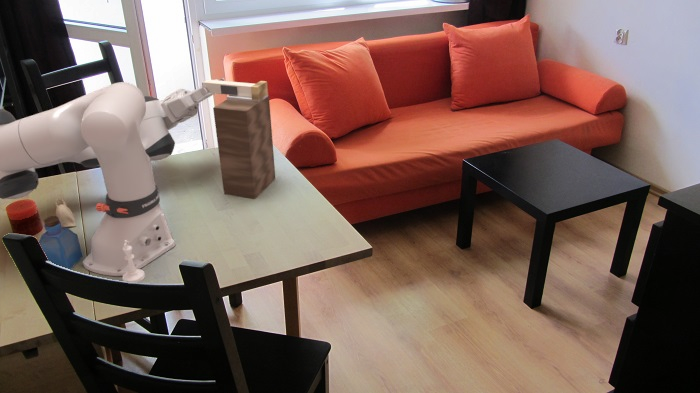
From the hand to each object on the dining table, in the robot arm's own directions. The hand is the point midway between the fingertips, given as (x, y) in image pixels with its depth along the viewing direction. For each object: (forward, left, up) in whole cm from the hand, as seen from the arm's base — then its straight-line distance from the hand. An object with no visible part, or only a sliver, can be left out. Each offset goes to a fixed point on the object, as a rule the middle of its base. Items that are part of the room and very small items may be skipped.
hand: (215, 85), depth 162 cm
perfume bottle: (-53, +14, -30) cm, 63 cm away
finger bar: (0, -5, -2) cm, 5 cm away
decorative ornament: (-37, +28, -30) cm, 55 cm away
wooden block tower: (-3, -10, -29) cm, 31 cm away
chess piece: (-53, -6, -30) cm, 61 cm away
